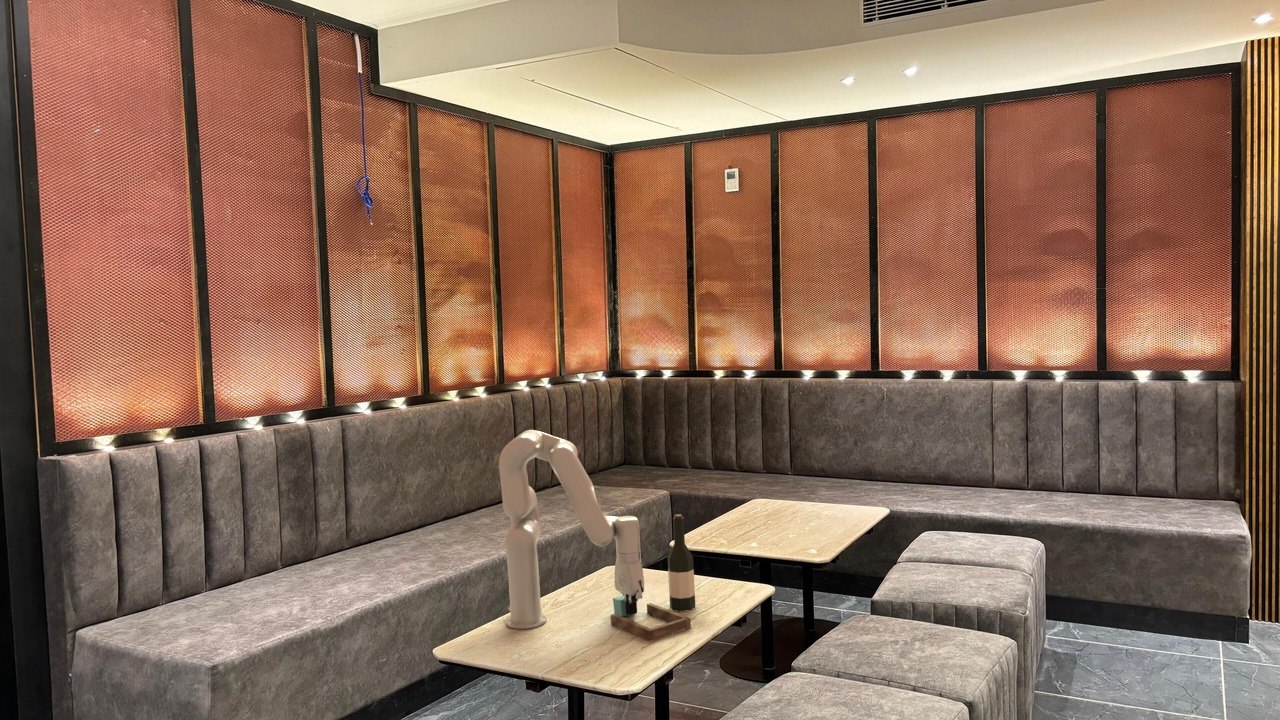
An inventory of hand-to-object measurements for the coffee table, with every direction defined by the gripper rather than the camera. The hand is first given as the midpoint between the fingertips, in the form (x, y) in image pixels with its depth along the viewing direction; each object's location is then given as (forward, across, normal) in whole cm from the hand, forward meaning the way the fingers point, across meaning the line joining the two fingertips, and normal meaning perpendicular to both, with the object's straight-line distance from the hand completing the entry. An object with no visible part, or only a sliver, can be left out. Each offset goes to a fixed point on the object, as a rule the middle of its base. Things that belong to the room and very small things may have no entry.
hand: (631, 613), depth 274 cm
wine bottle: (+2, +4, +18) cm, 18 cm away
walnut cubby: (+1, +9, 0) cm, 9 cm away
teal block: (+1, -5, +1) cm, 5 cm away
